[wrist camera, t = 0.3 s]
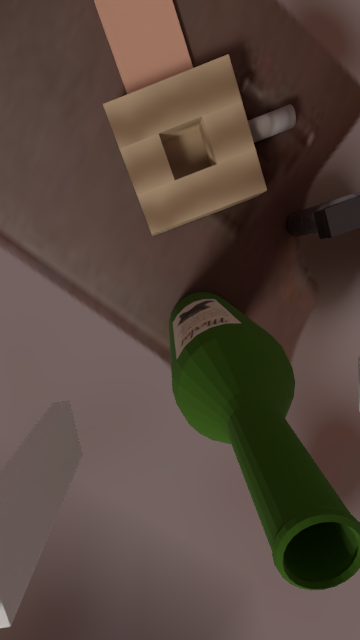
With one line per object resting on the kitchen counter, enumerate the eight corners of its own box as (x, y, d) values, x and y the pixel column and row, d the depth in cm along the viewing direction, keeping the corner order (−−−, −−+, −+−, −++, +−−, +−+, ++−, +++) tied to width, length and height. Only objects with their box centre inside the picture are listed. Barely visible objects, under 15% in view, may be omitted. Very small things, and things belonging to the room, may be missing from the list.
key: (266, 223, 39) (323, 205, 25) (322, 202, 38) (413, 171, 24) (272, 246, 39) (332, 241, 25) (327, 225, 39) (419, 208, 25)
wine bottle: (208, 277, 40) (377, 366, 8) (246, 329, 42) (507, 569, 10) (155, 317, 41) (119, 542, 9) (195, 366, 42) (282, 700, 11)
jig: (109, 120, 35) (102, 104, 31) (270, 57, 35) (283, 32, 31) (153, 236, 38) (151, 234, 34) (301, 179, 38) (317, 170, 34)
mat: (95, 4, 33) (94, 0, 32) (163, -24, 33) (163, -29, 32) (130, 102, 35) (129, 99, 34) (194, 76, 35) (194, 73, 34)
